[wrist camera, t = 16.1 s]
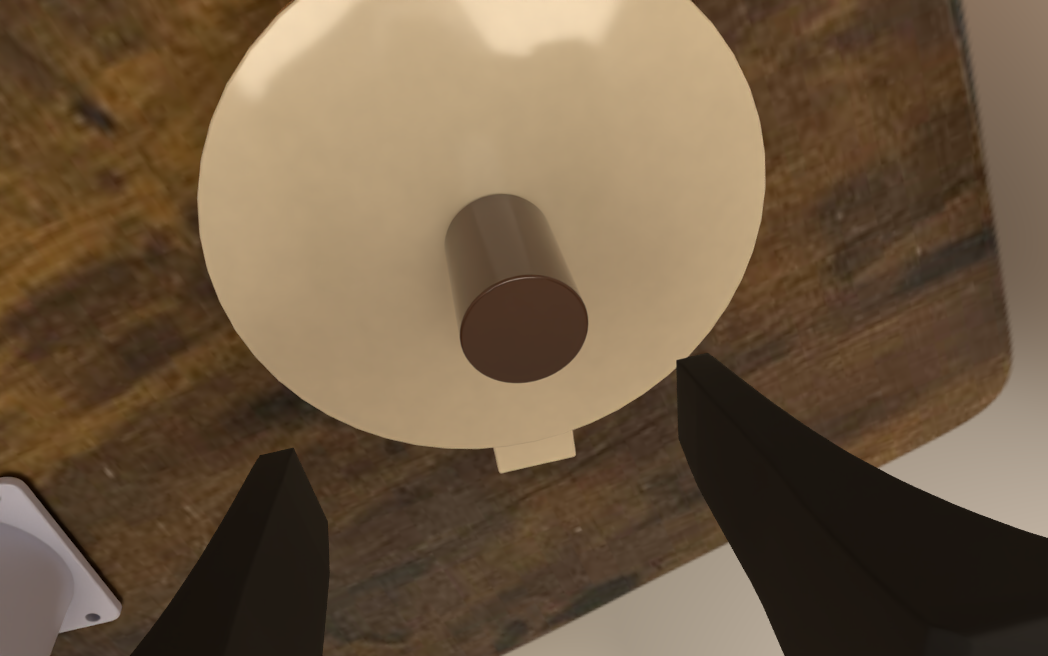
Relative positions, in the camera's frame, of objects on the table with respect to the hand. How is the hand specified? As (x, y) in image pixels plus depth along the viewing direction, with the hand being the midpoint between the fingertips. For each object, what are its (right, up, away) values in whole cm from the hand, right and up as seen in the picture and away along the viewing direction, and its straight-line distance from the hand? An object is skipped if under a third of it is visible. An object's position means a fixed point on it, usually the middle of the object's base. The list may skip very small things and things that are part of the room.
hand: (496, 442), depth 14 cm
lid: (0, +4, +3) cm, 5 cm away
